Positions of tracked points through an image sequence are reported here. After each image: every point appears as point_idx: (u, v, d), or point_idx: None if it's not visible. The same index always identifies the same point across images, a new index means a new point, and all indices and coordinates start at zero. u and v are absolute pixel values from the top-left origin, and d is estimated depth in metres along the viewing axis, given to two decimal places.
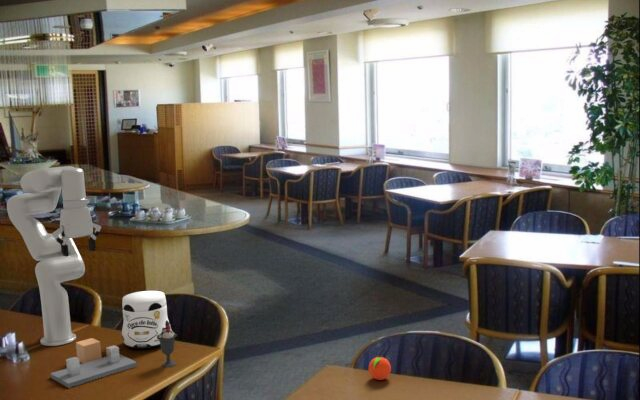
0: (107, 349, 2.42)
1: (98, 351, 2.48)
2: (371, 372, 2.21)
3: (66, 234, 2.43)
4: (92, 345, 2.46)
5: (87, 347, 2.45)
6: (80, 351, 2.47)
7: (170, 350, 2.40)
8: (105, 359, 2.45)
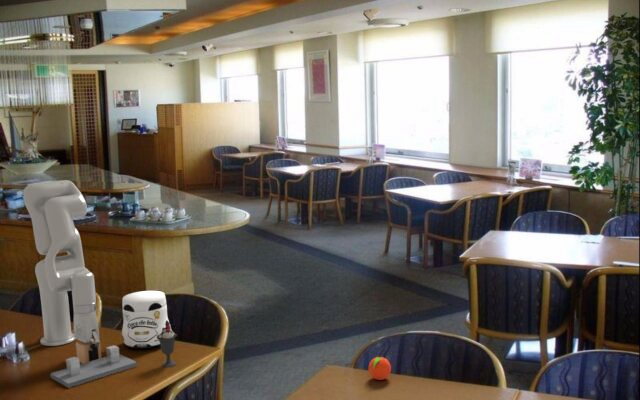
0: (107, 349, 2.42)
1: (98, 351, 2.48)
2: (371, 372, 2.21)
3: (98, 336, 2.46)
4: None
5: (87, 347, 2.45)
6: (80, 351, 2.47)
7: (170, 350, 2.40)
8: (105, 359, 2.45)
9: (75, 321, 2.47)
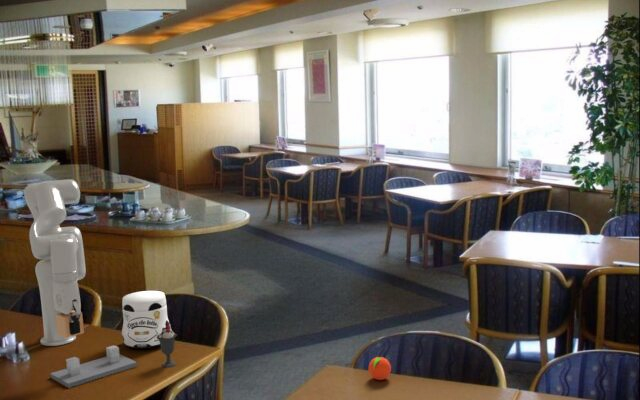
0: (107, 349, 2.42)
1: (80, 323, 2.30)
2: (371, 372, 2.21)
3: (80, 307, 2.28)
4: None
5: (68, 318, 2.27)
6: (60, 323, 2.29)
7: (170, 350, 2.40)
8: (105, 359, 2.45)
9: (55, 291, 2.29)
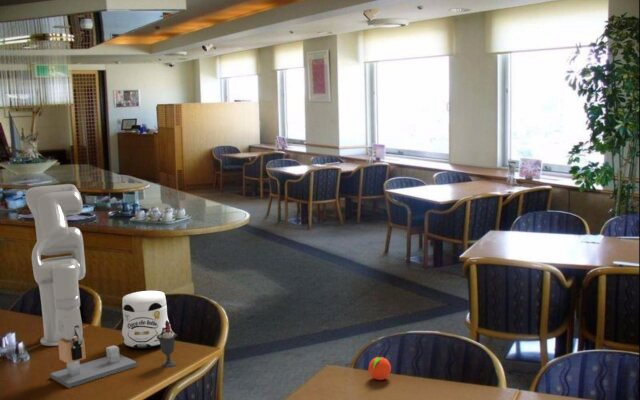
0: (107, 349, 2.42)
1: (82, 349, 2.31)
2: (371, 372, 2.21)
3: (82, 332, 2.29)
4: None
5: (70, 344, 2.28)
6: (62, 349, 2.30)
7: (170, 350, 2.40)
8: (105, 359, 2.45)
9: (57, 316, 2.30)
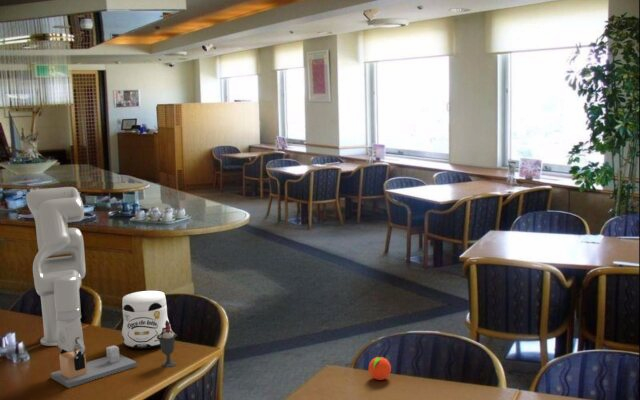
0: (107, 349, 2.42)
1: None
2: (371, 372, 2.21)
3: None
4: None
5: (71, 359, 2.29)
6: (63, 364, 2.31)
7: (170, 350, 2.40)
8: (105, 359, 2.45)
9: (58, 328, 2.31)
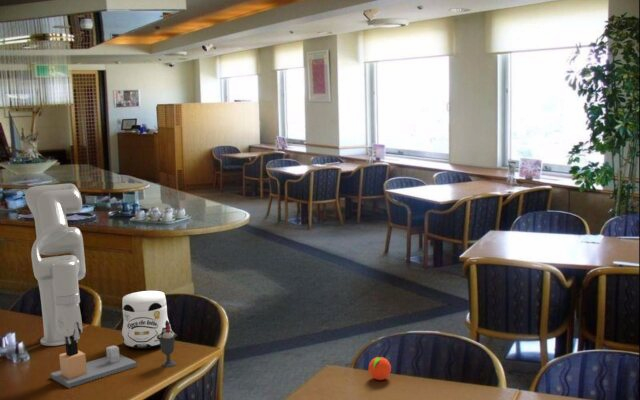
0: (107, 349, 2.42)
1: (83, 364, 2.32)
2: (371, 372, 2.21)
3: None
4: (76, 357, 2.30)
5: (71, 359, 2.29)
6: (63, 364, 2.31)
7: (170, 350, 2.40)
8: (105, 359, 2.45)
9: (57, 313, 2.30)
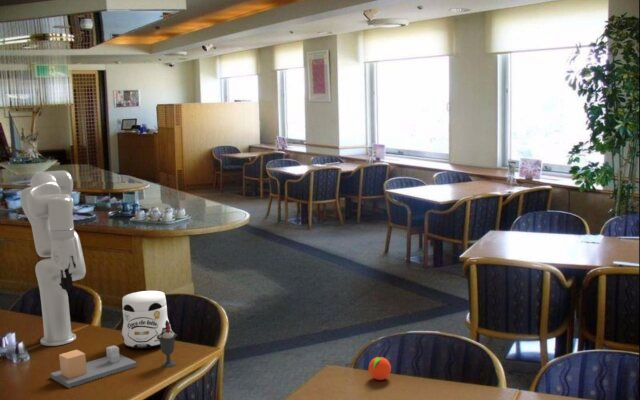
0: (107, 349, 2.42)
1: (83, 364, 2.32)
2: (371, 372, 2.21)
3: (76, 263, 2.37)
4: (76, 357, 2.30)
5: (71, 359, 2.29)
6: (63, 364, 2.31)
7: (170, 350, 2.40)
8: (105, 359, 2.45)
9: (52, 248, 2.38)
